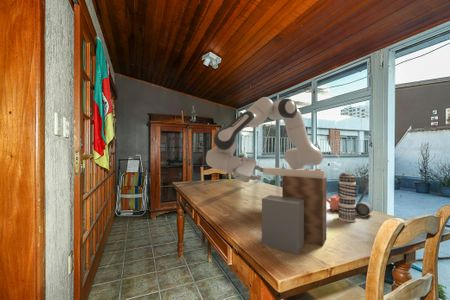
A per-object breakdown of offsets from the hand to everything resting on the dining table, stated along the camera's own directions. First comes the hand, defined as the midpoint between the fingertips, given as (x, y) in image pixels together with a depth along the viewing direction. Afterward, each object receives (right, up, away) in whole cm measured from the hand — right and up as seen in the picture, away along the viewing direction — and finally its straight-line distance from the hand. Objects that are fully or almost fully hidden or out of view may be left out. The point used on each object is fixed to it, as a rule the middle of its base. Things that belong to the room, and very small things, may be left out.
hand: (262, 174), depth 101 cm
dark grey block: (+4, -25, -21) cm, 33 cm away
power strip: (+11, +1, -11) cm, 16 cm away
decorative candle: (+48, -26, +10) cm, 55 cm away
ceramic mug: (+60, -26, +18) cm, 68 cm away
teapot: (+52, -26, +27) cm, 64 cm away
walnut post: (+15, -25, -14) cm, 33 cm away
